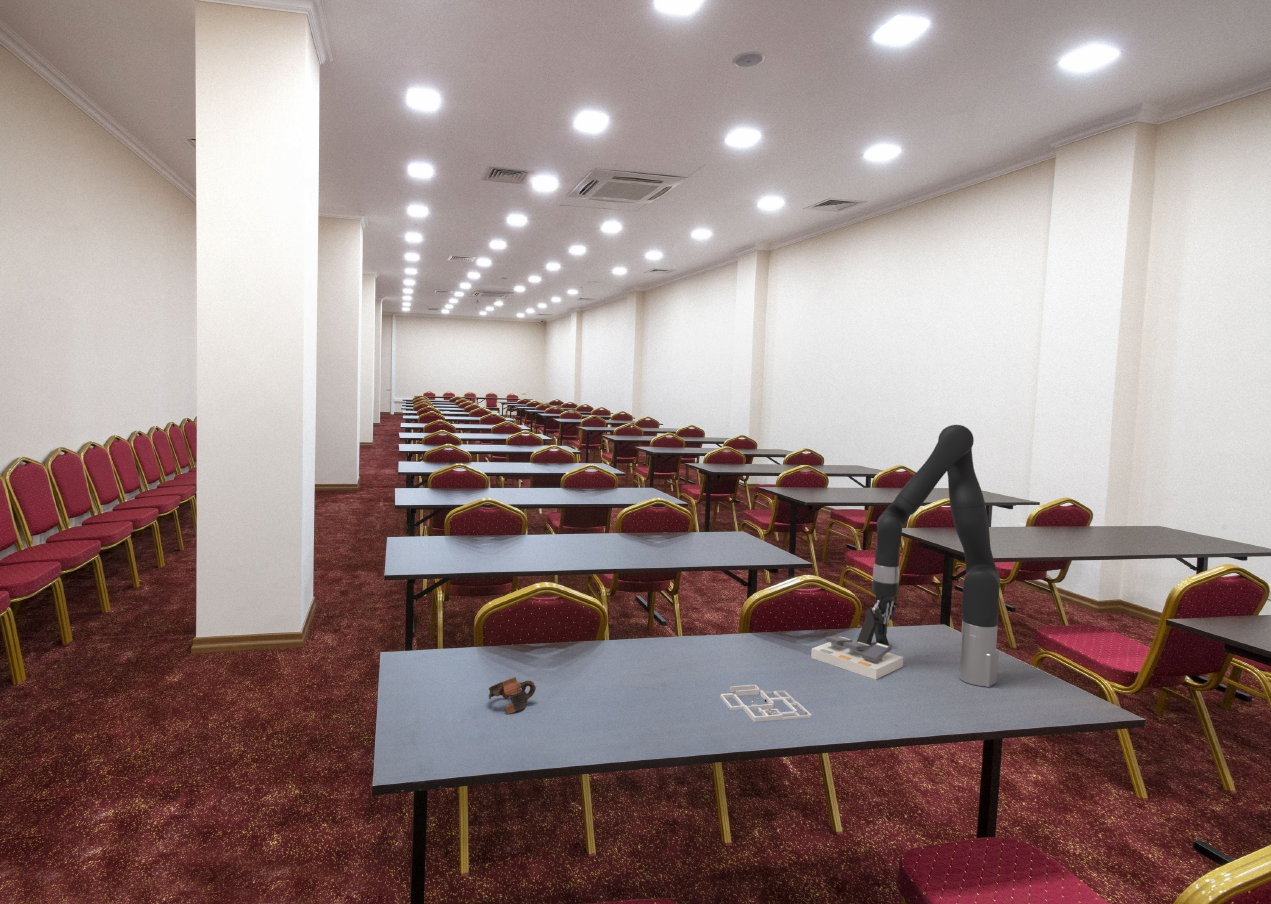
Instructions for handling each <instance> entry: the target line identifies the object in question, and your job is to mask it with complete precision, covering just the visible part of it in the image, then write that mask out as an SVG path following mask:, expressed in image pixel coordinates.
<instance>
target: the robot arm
mask: <svg viewBox="0 0 1271 904" xmlns="http://www.w3.org/2000/svg"><path fill="white" fill-rule="evenodd" d="M973 445H974V435H973V433H972V431H971V430H970V428H968V427H966V426H964V425H961V424H952V425H947V426H946V427H945V428H943V429H942V430H941V431H940V433H939V435H938V438H937V442H936V444H935V447H934V448H933V451H932V452H931V454H930V455H929V457H928V458H926V459H927V460H925V462H924V463H923V464H922V466H921V467H920V468H919V469H918V470H917V471H916V472H915V473H914V474H913V476H911V478H910V479H909V480H908V481H907V482H906V484H905V485H904V486H903V487H902V489H901V490H900V492H899V493H898V494H897V495H896V496H895V498H894V500H893V501H892V502H891V503H890V504H889V505H888V506H887V507H886V509H884V511H883V512H882V513H881V514H880V515H879V517H878V519H877V521H876V531H877V532H876V536H877V537H876V547H875V553H874V554H875V555H874V565H873V570H872V585H871V586H872V587H871V592H872V594H873V595H874V596H875V598H874V606H870V607H869V609H870V612H871V614H872V617H873V619H874V621H876V622H878V634H879V635H882V636H884V635H886V636H887V634H888V624H889V622H890V621H892V620H893V618H894V615H895V612H896V610H897V607H898V605H899V604H898V602H896V601H895V598H896V597H897V596H899V586H900V585H899V584H900V555H901V554H900V553H901V551H900V548H901V542H902V535H903V526H904V524H905V523H906V522H907V520H908V519H909V518H910V516H911V515H914V514H915V513H916V512H917V511H918V510H919V509H920V508H921V506H922V505H923V504H924V502H925V501H926V500H927V498H928V497H929V496H930V494H931V492H932V491H933V490H934V489H935V488H936V486H937V484H938V483H939V482H940V480H941V479H942V478H943V477H944V475H945V474H946V473H947V482H948V496H949V497H948V498H949V505H950V512H951V517H952V520H953V521H952V522H953V526H954V529H955V530H956V531H955V532H956V534H957V536H958V539H959V541H960V544H961V546H962V549H963V553H964V562H965V577H964V580H963V585H962V603H961V605H962V606H961V608H962V609H961V612H962V619H961V620H962V621H961V635H960V636H961V638H960V640H961V641H960V656H959V672H958V673H959V674H958V677H959V679H960V680H961V681H963V682H965V683H966V684H969V685H973V686H980V687H987V688H990V687H992V686H994V685H995V684H996V683H998V671H999V654H1000V653H999V650H998V649H997V642H998V640H997V639H998V623H999V622H998V621H999V601H1000V588H1001V577H1000V575H999V572H998V569H997V566H996V563H995V559H994V555H993V553H992V548H991V536H990V535H991V534H990V527H989V524H990V523H989V517H988V511H987V506H986V501H985V497H984V493H983V491H982V488H981V486H980V485H981V484H980V482H979V480H978V477H977V475H976V472H975V468H974V461H973V460H974V459H973V452H972V451H973Z"/></svg>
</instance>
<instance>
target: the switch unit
mask: <svg viewBox="0 0 1271 904" xmlns="http://www.w3.org/2000/svg"><path fill="white" fill-rule="evenodd" d="M865 651H867V650H853V649H850V648H846V647H843V644H840V645H837V644H833V643H830V642H825V643H822V644H820V645H818V646H817V645H816V646H815V647H811V652H810V653H811V655H810V657H811V659H813V660H816V661H819V662H822V663H825V664H827V665H830V666H833V667H837V668H840V669H843V670H846V671H849V672H852V673H855V674H857V675H861V676H864V677H866V678H867V677H868V678H869V679H872V680H878V679H880V678H882V677H884V676H886V675H889V674H891V673H893V672H894V671H897V670H899V669H901V668H903V667H904V656H901V655H897V654H895V653H891V652H888V653H886V654H885V655H884V656H883V657H881V658H880V659H879V660H878V661H876V662H873V661H870V660H867V659H864V658H862V654H863V653H864V652H865Z"/></svg>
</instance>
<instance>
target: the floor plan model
mask: <svg viewBox="0 0 1271 904" xmlns="http://www.w3.org/2000/svg"><path fill="white" fill-rule="evenodd" d="M729 692H730V693H721V694H720V696H719V697H720V699H721V700H722V701H723V703H724V704H725V705H726V706H727V708H728V709H729V710H730V711H738V710H739V711H741V710H743V711H744V712H745V713H746V714H747V715H748V717H749V718H750V719H751V720H752V721H753V722H754V723H759V722H769V721H787V720H797V719H798V720H799V719H811V718H812V717H813V716H812V713H810V712H809V711H808V710H807V709H806V708H805V707H804V706H803V705H802V704H800V702H799V701H796V700H795V698H793V697H792V696H791V695H790V694H789V693H788V692H787V691H786V690H785V689H784V690H773V691H771V690H770V691H769V690H768V691H763V690H762V689H760V688H759V687H758V685H756V684H747V685H733V686H730V688H729ZM781 693H782V694H783V693H784V694H785V695H786V696H781V695H780V694H781ZM770 694H771V695H772V694H773V696H774V697H773V696H771V697H769V696H768V695H770ZM753 695H754V696H755V695H757V696H755V697H754V696H753ZM758 695H760V698H762V699H763V700H764V702H765V703H766V704H757V703H753V702H754V701H753V700H752V701H751V703H752V704H751V705H746V704H744V702H743V701H742V700H741V699H740V698H739V697H743V696H744V697H745V696H752V697H753V698H752V699H758V700H760V698H759V696H758ZM730 698H731V699H732V698H733V699H734V700H735V701H736V702H737V704H738V705H733V706H732V704H731V703H730V702H729V701H728V700H727V699H730ZM789 701H792V702H789ZM775 702H783V703H784V704H785V705H786V706H787V707H788V708H789V709H790V710H791V711H788V710H787V711H786V709H783V710H784V711H783V712H780V711H779V709H778V708H775ZM794 706H795V707H796V706H797V707H798V708H799V709H800V710H801V711H802V713H803V715H800V713H798V710H797V709H796V708H795V707H794ZM753 711H758V712H759V713H760V714H761V716H760V715H759V716H758V715H757V716H756V715H755V714H754V712H753Z"/></svg>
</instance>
